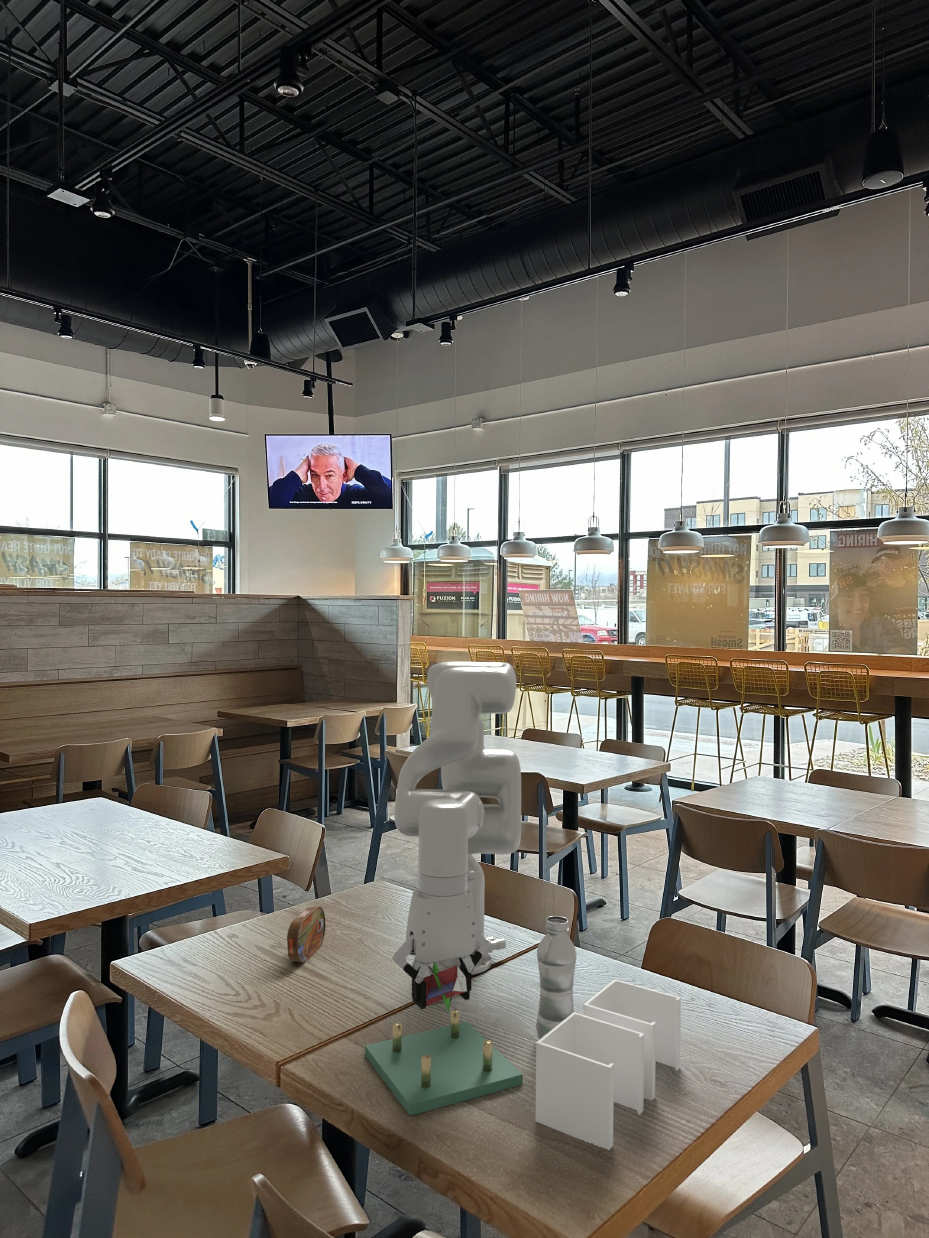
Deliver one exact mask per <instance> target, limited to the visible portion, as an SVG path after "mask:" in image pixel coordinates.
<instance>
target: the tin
mask: <svg viewBox="0 0 929 1238" xmlns="http://www.w3.org/2000/svg"><path fill="white" fill-rule="evenodd" d="M325 934H326V915H325V911H324V908H323V907H322V906H308V907H306V908H305V909H304V910H303V911H302V912H301V913H300V914H298V915H297V917H295V918H294V919H293V920H292V922H290V925H289V927H288V930H287V933H286V935H287V936H286V941H287V942H286V943H287V946H286V947H287V956H288V959H289V960H290V961H291V962H294V963H303V964H304V963H306V961H307V960H308V961H309V960H310V958H312V956H314V954H315V953H316V952H317V951H318V950H319V949H320V948H321V947H322V945H323V943H324V939H325ZM308 961H307V962H308Z"/></svg>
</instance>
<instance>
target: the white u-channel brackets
mask: <svg viewBox="0 0 929 1238" xmlns="http://www.w3.org/2000/svg"><path fill="white" fill-rule="evenodd" d="M681 1000H682V999H681V997H680V996H677V995H673V994H670V993H666V992H663V991H660V990H655V989H652V988H647V987H644V986H640V985H636V984H635V983H634V984H633V983H630V982H625V981H622V980H619V979H613V980H612V981H610V983H608V984H607V985H605V987H603V988H602V989H601V990H600V991H598V992H597V993H596V994H595V995H593V996H592V997H591V998H590V999H588V1000H587V1001H586V1002H585V1003H584V1004H583V1007H582V1008H583V1009H582V1010H583V1011H582V1012H583V1014H580V1013H577V1012H575V1011H574V1013H572V1014H571V1015H570V1016H569V1017H567V1018H566V1019H565V1020H564V1021H562V1022H561V1023H560V1024H559V1025H557V1026H556V1027H555V1028H554V1029H552V1030H551V1031H550V1032H549V1033H547V1034H546V1035H545V1036H544V1037H542V1038H541V1039H540V1040H539V1039H538V1040H537V1041H536V1042H535V1045H536V1046H535V1049H536V1050H535V1054H536V1055H535V1122H537V1123H539V1124H541V1125H544V1126H546V1127H548V1128H551V1129H553V1130H556V1131H559V1132H560V1133H563V1134H566V1135H568V1136H571V1137H573V1138H575V1139H577V1140H581V1141H583V1140H584V1142H586V1143H588V1142H589V1144H591V1143H593V1144H594V1146H596V1145H597V1146H596V1147H598V1146H599V1147H598V1148H600V1147H603V1148H606V1149H608V1150H610V1148H611V1147H612V1146H613V1147H614V1103H616V1104H619V1105H621V1106H623V1107H624V1106H625V1107H626V1108H629V1109H632V1110H635V1111H637V1114H638V1115H641V1114H642V1113H643V1112H644V1100H645V1099H646V1100H648V1101H653V1100H654V1099H655V1098H656V1062H657V1063H660V1064H663V1065H666V1066H668V1067H672V1068H674V1071H676V1072H678V1071H679V1070H680V1069H681V1027H682V1026H681V1021H682V1019H681V1018H682V1017H681V1016H682V1015H681V1014H682V1010H681V1005H682V1003H681V1002H682V1001H681ZM593 1144H592V1145H593ZM613 1147H612V1148H613ZM603 1148H602V1149H603ZM612 1148H611V1149H612ZM608 1150H607V1151H608ZM610 1151H611V1150H610Z"/></svg>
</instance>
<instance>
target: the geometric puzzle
mask: <svg viewBox="0 0 929 1238" xmlns="http://www.w3.org/2000/svg"><path fill="white" fill-rule="evenodd" d="M442 962H443V961H442ZM439 963H440V962H439ZM441 964H442V963H441ZM430 965H431V964H430ZM430 965H429V966H428V967H430ZM453 965H454V964H453ZM444 966H445V965H444ZM451 967H452V968H449V969H446V970H443V971H440V972H439V969H438V966H437V964H436V963H434V965H433V969H432V968H431V971H428V972H426V974H425V976H424V979H423V980H424V981H425V982H426V985H427V988H426V1008H427V1007H428V1008H431V1009H432V1007H430V1006H433V1005H434V1006H435V1007H437V1008H439V1006H438V1004H442V1003H444V1005H445V1008H446V1010H444V1009H443V1008H441V1010H440V1009H437V1008H436V1010H437V1011H443V1012H446V1013H447V1014H449V1013H451V1010H450V1007H451V1003H452V1002H451V1001H452V1000H455V999H456V998H457V997H460V999H461V998H462V997H461V996H460V995H459V994H461V993H462V994H463V993H465V992H467V986H466V977H465V975H464V974H463V973H462V971H461V970H460V969H459V967H458V965H456V966H454V967H453V966H451ZM446 968H448V967H447V966H446ZM442 969H444V968H442ZM430 972H431V974H429V973H430ZM428 974H429V975H428ZM426 975H427V976H426ZM453 997H454V998H453ZM462 999H463V998H462ZM456 1005H457V1003H456V1004H455V1005H454V1006H456Z"/></svg>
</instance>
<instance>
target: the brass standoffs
mask: <svg viewBox="0 0 929 1238" xmlns="http://www.w3.org/2000/svg"><path fill="white" fill-rule="evenodd" d="M460 1012H461V1011H460V1010H459V1009H453V1008H452V1009H450V1026H451V1038H459V1024H460V1021H461V1020H460V1014H461V1013H460ZM402 1028H403V1023H402V1022H400V1021H396V1022H393V1023H392V1039H393V1052H400V1051H401V1050H402V1037H403V1029H402ZM492 1046H493V1041H492V1040H490V1039H486V1040H485V1041H483V1070H484V1071H486V1072H490V1071H492ZM421 1086H422V1087H423V1088H429V1087H430V1086H431V1056H429V1055H423V1056H422V1057H421Z"/></svg>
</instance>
